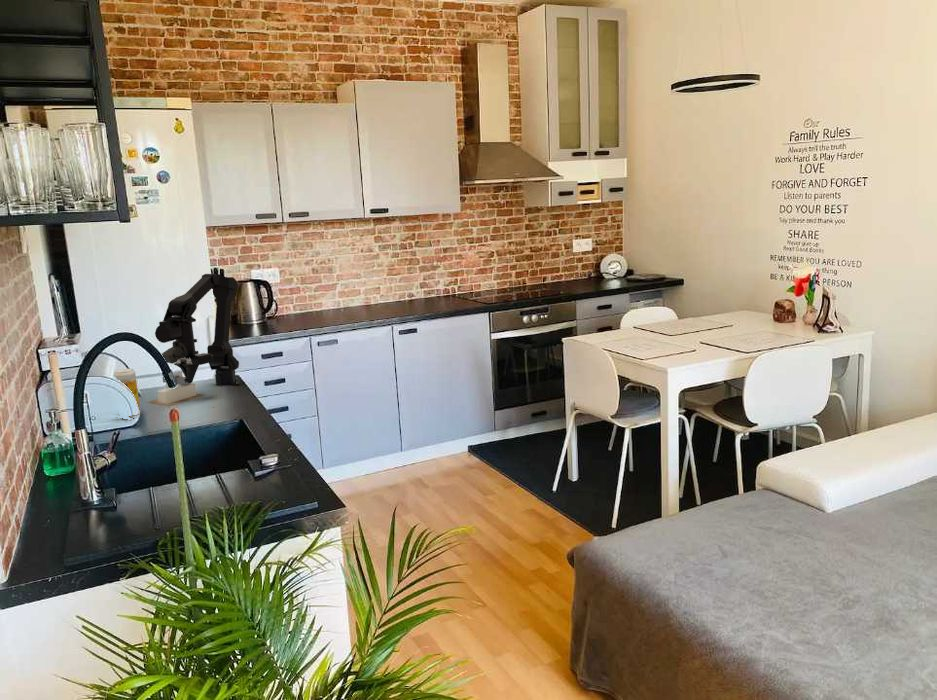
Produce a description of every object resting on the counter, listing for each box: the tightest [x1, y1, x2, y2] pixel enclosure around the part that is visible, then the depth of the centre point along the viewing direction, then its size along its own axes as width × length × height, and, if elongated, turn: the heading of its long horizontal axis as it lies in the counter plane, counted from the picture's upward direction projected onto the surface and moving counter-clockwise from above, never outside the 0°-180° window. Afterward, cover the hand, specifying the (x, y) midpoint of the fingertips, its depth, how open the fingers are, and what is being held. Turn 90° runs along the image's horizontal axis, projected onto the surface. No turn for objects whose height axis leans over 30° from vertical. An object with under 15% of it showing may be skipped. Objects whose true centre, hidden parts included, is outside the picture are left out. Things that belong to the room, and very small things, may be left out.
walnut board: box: [145, 393, 206, 407], centre depth 248 cm, size 15×12×1 cm
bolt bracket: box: [165, 371, 184, 389], centre depth 253 cm, size 6×2×7 cm, turn 151°
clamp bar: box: [162, 375, 190, 385], centre depth 252 cm, size 2×11×2 cm, turn 61°
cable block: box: [156, 382, 197, 404], centre depth 247 cm, size 12×4×4 cm, turn 151°
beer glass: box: [113, 368, 142, 414], centre depth 229 cm, size 6×6×15 cm
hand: (190, 382), depth 249 cm, fingers closed
